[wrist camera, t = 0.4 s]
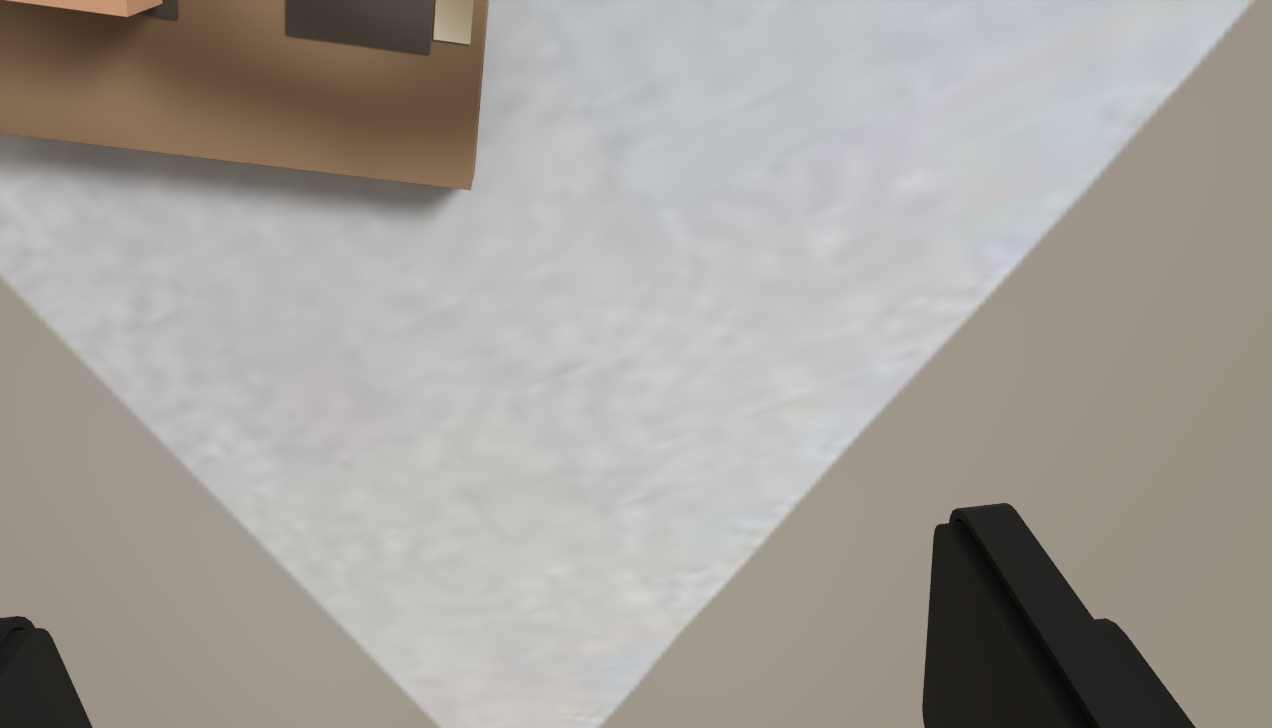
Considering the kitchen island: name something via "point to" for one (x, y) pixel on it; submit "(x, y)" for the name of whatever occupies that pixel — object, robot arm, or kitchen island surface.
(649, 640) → the kitchen island surface
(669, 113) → the kitchen island surface
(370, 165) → the switch board
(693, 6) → the kitchen island surface
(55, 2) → the tab
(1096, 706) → the robot arm
